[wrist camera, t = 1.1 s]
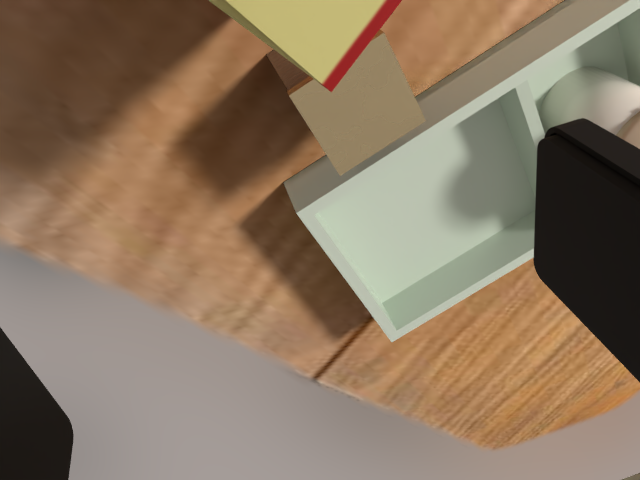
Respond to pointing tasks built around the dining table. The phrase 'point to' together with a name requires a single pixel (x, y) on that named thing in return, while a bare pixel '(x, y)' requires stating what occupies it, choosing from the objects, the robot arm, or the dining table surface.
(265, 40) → the baking soda box
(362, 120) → the tin
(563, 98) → the canister
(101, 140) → the dining table surface
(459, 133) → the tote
